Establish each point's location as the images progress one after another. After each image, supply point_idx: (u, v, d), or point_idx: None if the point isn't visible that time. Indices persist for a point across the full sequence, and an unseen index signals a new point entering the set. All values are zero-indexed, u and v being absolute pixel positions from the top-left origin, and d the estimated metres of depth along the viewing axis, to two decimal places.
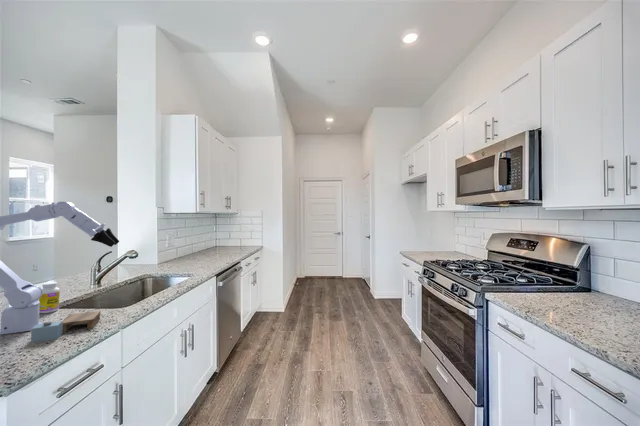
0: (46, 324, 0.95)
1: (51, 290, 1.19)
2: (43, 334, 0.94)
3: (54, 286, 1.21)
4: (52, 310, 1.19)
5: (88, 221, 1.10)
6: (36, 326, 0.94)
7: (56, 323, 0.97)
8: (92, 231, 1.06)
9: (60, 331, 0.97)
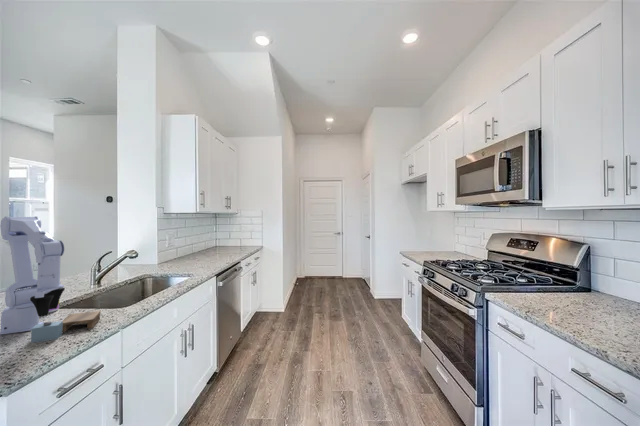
0: (46, 324, 0.95)
1: None
2: (43, 333, 0.94)
3: None
4: (52, 310, 1.19)
5: (52, 276, 0.94)
6: (36, 326, 0.94)
7: (56, 323, 0.97)
8: (40, 293, 0.89)
9: (60, 331, 0.97)
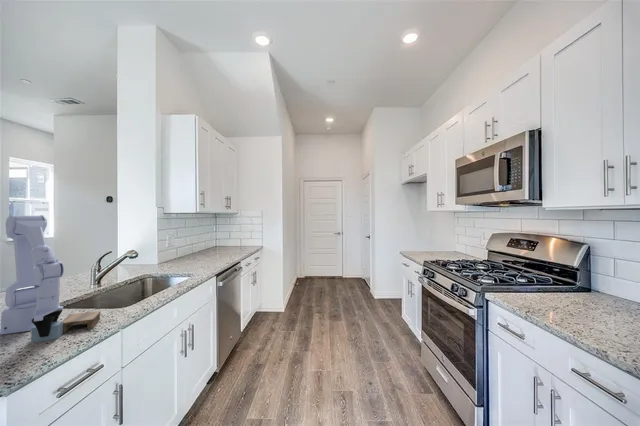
0: None
1: None
2: None
3: None
4: None
5: (51, 298, 0.94)
6: None
7: (56, 323, 0.97)
8: (39, 316, 0.89)
9: (60, 331, 0.97)
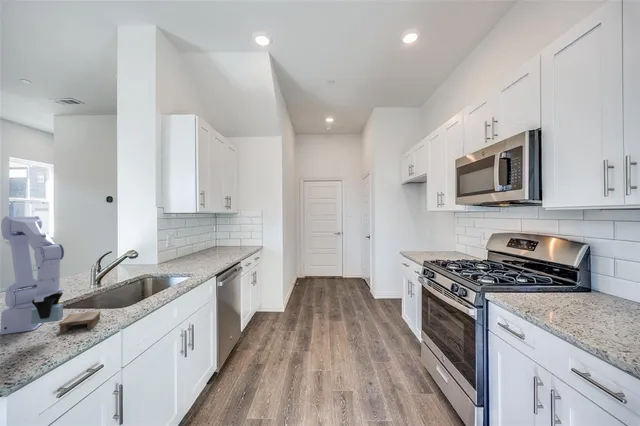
0: None
1: None
2: None
3: None
4: None
5: (51, 280, 0.94)
6: None
7: (56, 305, 0.97)
8: (40, 297, 0.89)
9: (60, 313, 0.97)
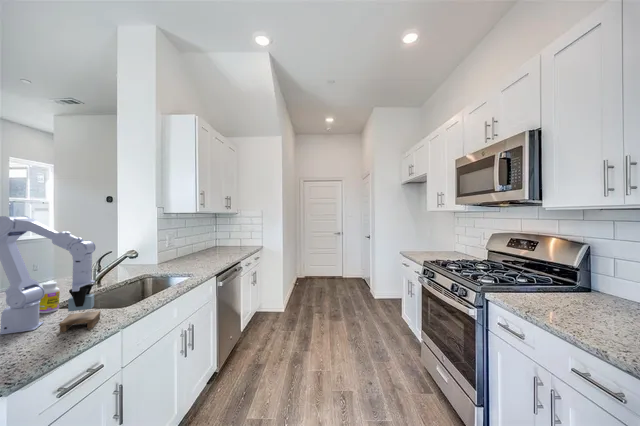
0: None
1: (51, 290, 1.19)
2: None
3: (54, 286, 1.21)
4: (52, 310, 1.19)
5: (85, 272, 1.05)
6: (72, 297, 1.05)
7: (89, 295, 1.08)
8: (76, 287, 1.01)
9: (92, 302, 1.09)
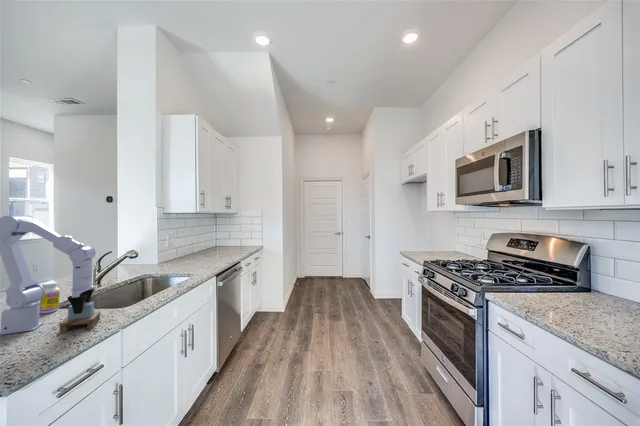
0: None
1: (51, 290, 1.19)
2: None
3: (54, 286, 1.21)
4: (52, 310, 1.19)
5: (85, 278, 1.06)
6: None
7: (89, 303, 1.08)
8: (76, 293, 1.01)
9: (92, 310, 1.09)
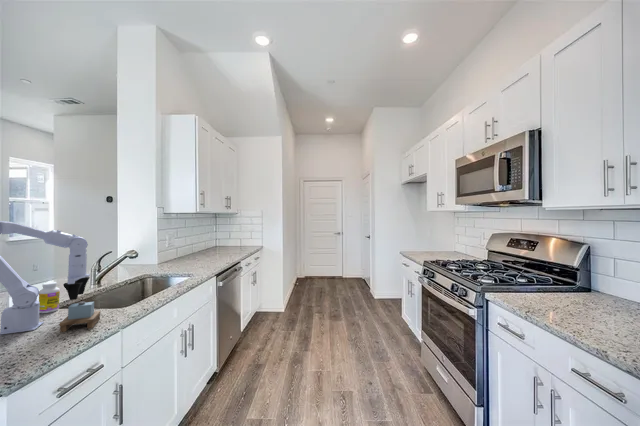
0: (81, 303, 1.06)
1: (51, 290, 1.19)
2: (79, 312, 1.05)
3: (54, 286, 1.21)
4: (52, 310, 1.19)
5: (80, 266, 1.12)
6: (72, 305, 1.05)
7: (89, 303, 1.08)
8: (72, 280, 1.07)
9: (92, 310, 1.09)
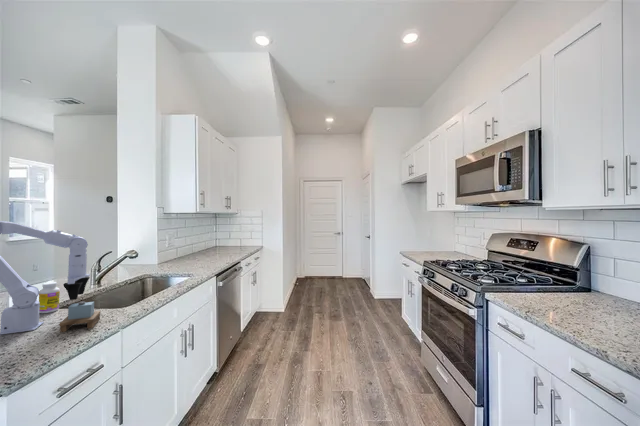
0: (81, 303, 1.06)
1: (51, 290, 1.19)
2: (79, 312, 1.05)
3: (54, 286, 1.21)
4: (52, 310, 1.19)
5: (80, 266, 1.12)
6: (72, 305, 1.05)
7: (89, 303, 1.08)
8: (72, 280, 1.07)
9: (92, 310, 1.09)
